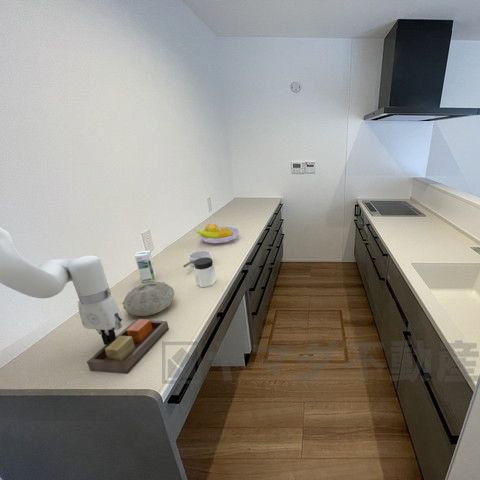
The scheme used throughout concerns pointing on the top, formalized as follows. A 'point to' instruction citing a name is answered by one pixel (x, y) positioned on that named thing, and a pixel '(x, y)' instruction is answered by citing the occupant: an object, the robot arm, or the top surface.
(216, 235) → the fruit bowl
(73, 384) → the top surface
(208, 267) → the jar
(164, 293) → the grey rounded stone
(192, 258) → the saucepan
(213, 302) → the top surface
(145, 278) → the syrup box
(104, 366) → the soap bar tray
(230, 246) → the top surface
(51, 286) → the robot arm
